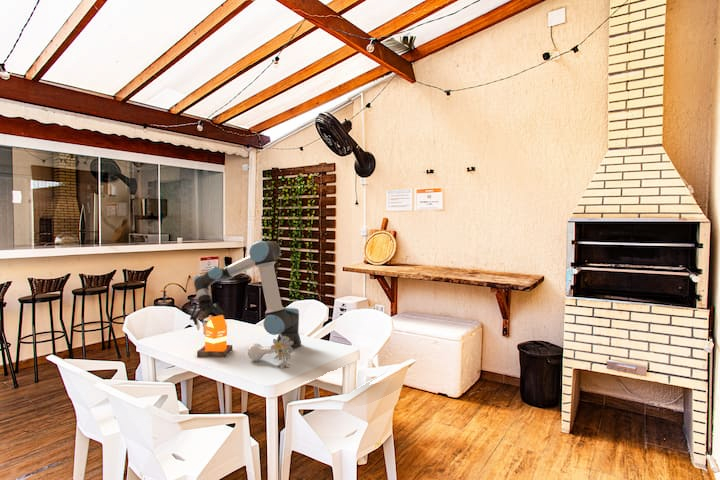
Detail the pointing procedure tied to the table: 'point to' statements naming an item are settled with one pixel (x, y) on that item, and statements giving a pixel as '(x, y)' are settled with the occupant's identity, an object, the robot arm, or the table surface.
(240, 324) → the table surface
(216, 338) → the orange juice
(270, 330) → the robot arm
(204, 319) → the teacup with lid
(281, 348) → the flower vase
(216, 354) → the walnut tray
